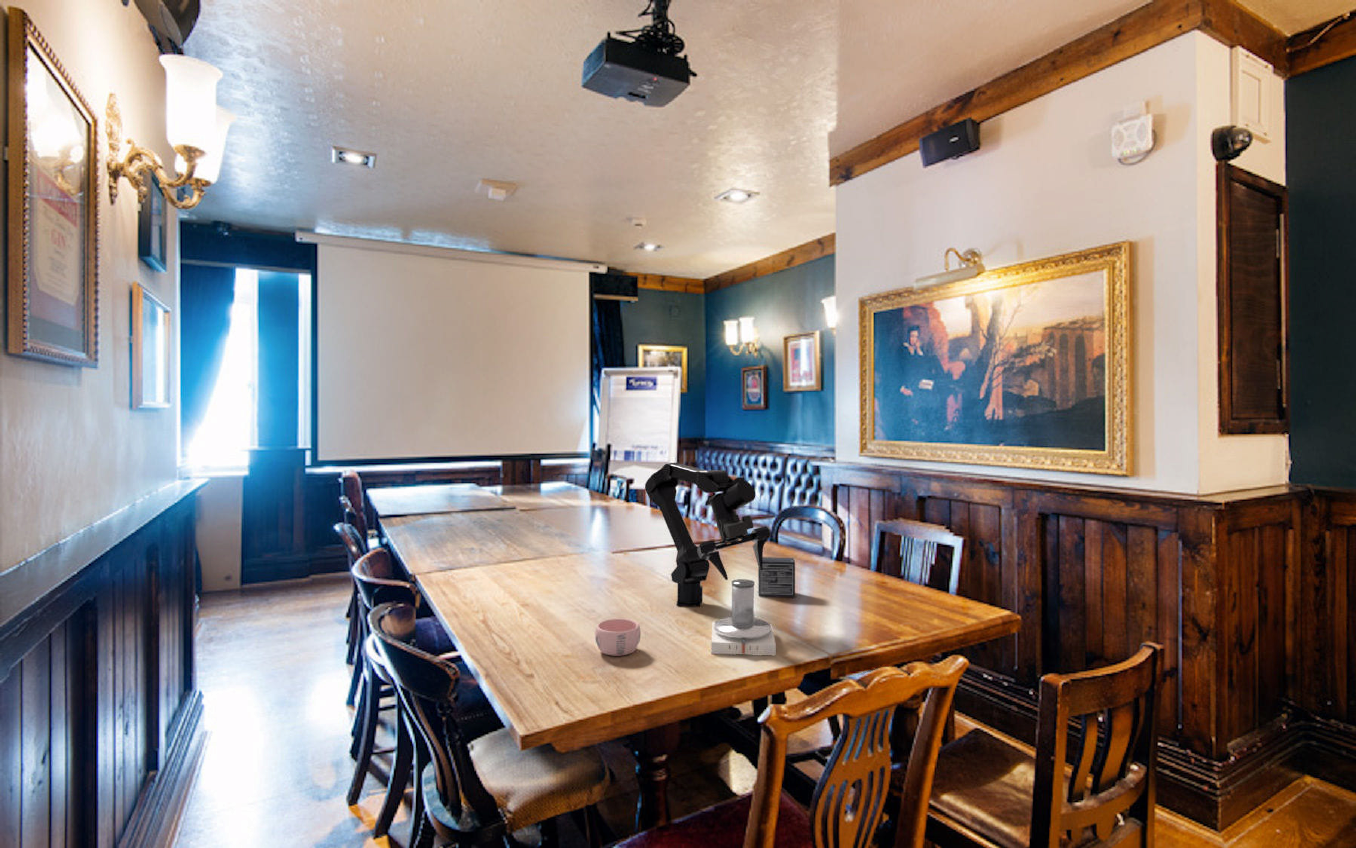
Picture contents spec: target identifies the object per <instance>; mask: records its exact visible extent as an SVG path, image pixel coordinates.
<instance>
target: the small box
mask: <svg viewBox="0 0 1356 848" xmlns="http://www.w3.org/2000/svg"><path fill="white" fill-rule="evenodd" d="M757 567H758V572H757V573H758V574H757V575H758V584H757V586H758V587H757V588H758V597H759V596H765V597H764V598H789V599H790V598H791V599H792V598H793V599H795V598H796V560H795V559H794V558H793V557H774V556H773V557H770V556H768V557H766V556H763V570H762V571H760V569H759V566H758V565H757Z"/></svg>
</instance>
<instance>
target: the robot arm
mask: <svg viewBox="0 0 1356 848" xmlns="http://www.w3.org/2000/svg"><path fill="white" fill-rule="evenodd" d="M680 481H684V482H687V483H690V484H693V485H695V486H696V487H697V489H698V490H700V491H701V492H704V493H705V494H706V493H707V494H711V495H708V496H707V499H706V501H705V505H704V506H705V507H707V506H709V507H710V506H711V510H712V513H713V515H714V520H715V523H716V529H718V533H719V536H720V539H721V540H720V541H717V542H715V540H714V539H711V540H707V541H704V542H700V544H698V546H697V545H696V543H694V541H693V538H692V537H691V534H690V532H689V529H688V527H687V525H686V522H685V521H684V518H683V516H682V513H681V511H680V509H679V506H678V504H677V501H676V497H677V487H678V486H679V484H680ZM644 489H645V492H646V494H647V496H648V498H649V500H650V501H651V502H652V503H653V504H654V505H656V507H658V508H659V509H660V512H661V515H662V517H663V519H664V521H665V523H666V526H667V529H668V531H669V534H670V536H671V539H672V541H673V544H674V546H675V549H676V551H677V552H676V553H677V554H676V559H675V564H676V567H675V568H674V570H673V571H672V572H671V573H670V577H671V582H673V583H675V584H677V596H676V597H677V599H676V606H677V607H701V604H702V603H703V597H704V596H703V595H704V594H703V591H704V590H703V589H704V588H703V587H704V586H703V585H701V583H702V582H705V581H707V577H708V574H709V570H710V563H712V565H713V566H714V567H715V568H716V569H717V571H718V572H719V573H720V574H721V576H722V577H723V579H724V580H725V581H728V580H729V578H728V574H727V571H726V568H725V566H724V563H723V562H722V559H721V556H720V551H719V550H722V549H727V548H731V547H733V546H734V547H735V546H737V545H741V544H745V543H750V542H753V543H754V544H753V545H752V548H753V552H754V556H755V559H756V564H757V567H758V566H759V569H760V571H762V570H763V557H764V556H763V553H764V546H765V544H766V543H767V542H768V541H769V539H770V538H771V537H772V536H773V534H772V531H771V529H770V527H768V526H767V525H765V526H760V527H757V528H754V523H753V519H752V517H751V515H749V514H747V515H744V516H742V517H741V519H740V517H739V514H738V512H737V510H739V509H742V508H744V507H745V506H746V505H748V504H750V503H751V502H753V501H754V500H755V499H756V490H755V488H754V486H753V485H752V484H751V483H750V482H748V481H746V479H745V477H744V476H739V477H736V478H735V479H733V478H732V477H731V476H729V474H728V471H726V470H723V469H722V470H721V469H717V470H716V469H714V470H713V469H711V470H705V469H701V468H697V467H693V466H689V465H686V464H682V463H681V462H667V463H664V464H663V466H662V467H661V468H660V469H659V470H657V471H656V472H654V473H652V474H651V475H650V476H649V478H647V480H646V481H645V484H644ZM712 493H713V495H712ZM714 493H716V494H714ZM753 528H754V529H753ZM750 529H752V531H751V532H750V533H749V532H748V530H750Z"/></svg>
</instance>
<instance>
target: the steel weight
mask: <svg viewBox="0 0 1356 848" xmlns="http://www.w3.org/2000/svg"><path fill="white" fill-rule="evenodd" d="M754 599H755V581H754V580H751V579H746V578H745V579H742V578H740V579H739V578H738V579H734V580H731V617H732V626H733V627H734V628H738V629H750V628H752V627H753V625H754V618H755V615H754V613H755V611H754V610H755V606H754V605H755V604H754V603H755V600H754Z"/></svg>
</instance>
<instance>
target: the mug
mask: <svg viewBox="0 0 1356 848" xmlns="http://www.w3.org/2000/svg"><path fill="white" fill-rule="evenodd" d="M640 627H641V626H640V624H639V623H638V622H637V621H636V620H632V619H628V618H627V619H626V618H610V619H605V620H602V621H600V622H598V624H597V625H596V627H595V629H594V630H595V632H594V636H595V637H594V638H595V643H596V646H597V647H598V650H599V651H600V652H601V653H602V654H605V655H608V656H612V657H613V656H614V657H615V656H618V657H619V656H626V655H629V654H632V653H633V652H634V651H636V650H637V647H638V645H639V643H640V640H641V628H640Z"/></svg>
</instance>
